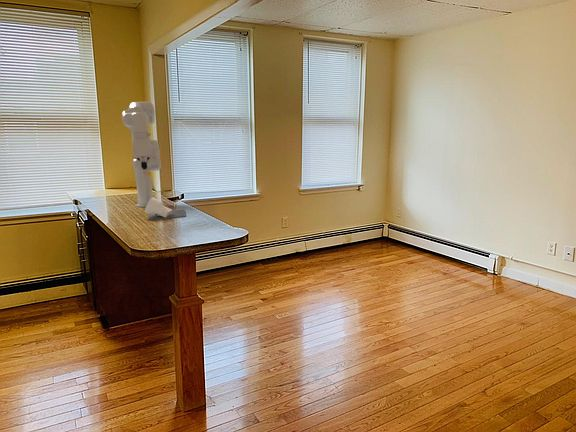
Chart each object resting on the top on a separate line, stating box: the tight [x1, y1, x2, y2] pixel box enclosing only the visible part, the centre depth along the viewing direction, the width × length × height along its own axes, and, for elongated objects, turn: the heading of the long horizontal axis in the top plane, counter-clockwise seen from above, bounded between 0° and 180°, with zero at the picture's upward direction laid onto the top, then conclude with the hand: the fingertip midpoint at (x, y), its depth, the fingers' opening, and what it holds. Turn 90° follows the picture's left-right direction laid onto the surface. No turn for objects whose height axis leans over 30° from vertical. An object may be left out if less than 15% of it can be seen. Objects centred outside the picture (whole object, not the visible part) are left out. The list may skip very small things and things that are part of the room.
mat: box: [147, 209, 186, 221], centre depth 247 cm, size 20×20×1 cm
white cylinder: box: [144, 196, 173, 218], centre depth 240 cm, size 9×9×12 cm
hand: (144, 169), depth 239 cm, fingers closed
